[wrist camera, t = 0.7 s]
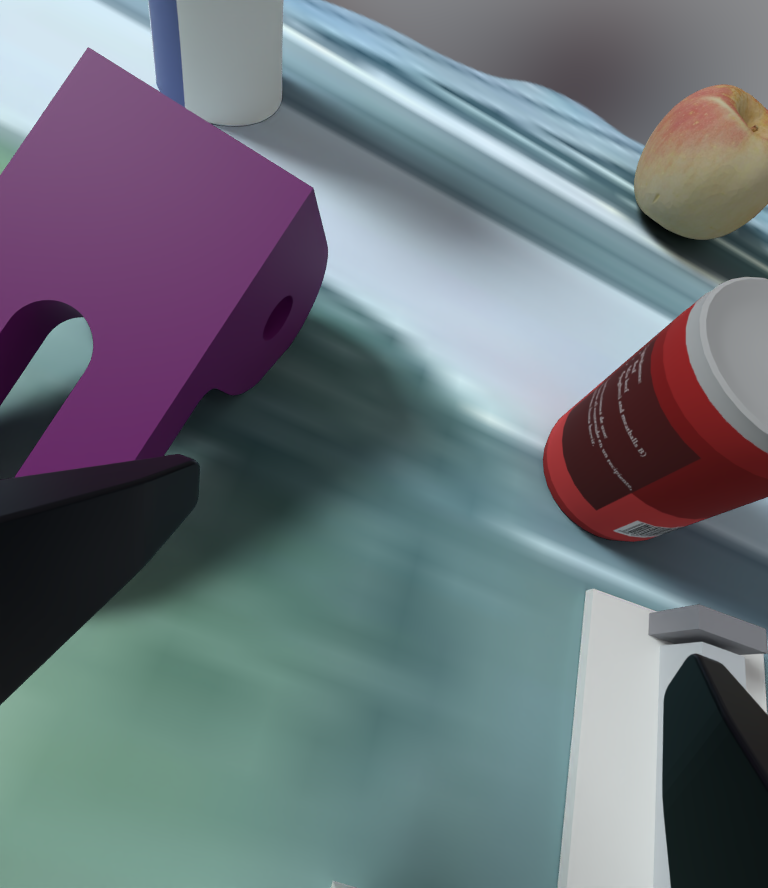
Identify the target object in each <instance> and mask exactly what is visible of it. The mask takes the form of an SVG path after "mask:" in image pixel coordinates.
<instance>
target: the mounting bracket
mask: <svg viewBox="0 0 768 888" xmlns="http://www.w3.org/2000/svg"><path fill="white" fill-rule="evenodd" d="M327 259H328V246H327V241H326V237H325V233H324V229H323V225H322V221H321V217H320V213H319V209H318V205H317V201H316V197H315V193H314V189H313V187H311V186H309V185H308V184H306V183H305V182H303V181H301V180H300V179H298V178H297V177H295V176H293V175H292V174H290V173H289V172H287V171H285V170H284V169H282V168H281V167H279V166H277V165H276V164H274V163H273V162H271V161H269V160H268V159H266V158H265V157H263V156H261V155H260V154H258V153H257V152H255V151H253V150H252V149H250V148H249V147H247V146H245V145H244V144H242V143H241V142H239V141H237V140H236V139H234V138H233V137H231V136H229V135H228V134H226V133H225V132H223V131H221V130H220V129H218V128H217V127H215V126H213V125H212V124H210V123H209V122H207V121H205V120H204V119H202V118H201V117H199V116H197V115H196V114H194V113H193V112H191V111H189V110H188V109H186V108H185V107H183V106H181V105H180V104H178V103H177V102H175V101H173V100H172V99H170V98H169V97H167V96H166V95H164V94H162V93H161V92H159V91H158V90H156V89H154V88H153V87H151V86H150V85H148V84H146V83H145V82H143V81H142V80H140V79H138V78H137V77H135V76H134V75H132V74H130V73H129V72H127V71H126V70H124V69H122V68H121V67H119V66H118V65H116V64H114V63H113V62H111V61H110V60H108V59H106V58H105V57H103V56H102V55H100V54H98V53H97V52H95V51H94V50H92V49H90V48H89V47H88V48H87V50H86V51H85V52H84V54H83V55H82V57H81V58H80V60H79V61H78V63H77V64H76V66H75V67H74V69H73V70H72V71H71V73H70V74H69V76H68V77H67V79H66V80H65V82H64V83H63V85H62V86H61V88H60V89H59V90H58V92H57V93H56V95H55V96H54V98H53V99H52V101H51V102H50V104H49V105H48V106H47V108H46V109H45V111H44V112H43V114H42V115H41V117H40V118H39V120H38V121H37V123H36V124H35V125H34V127H33V128H32V130H31V131H30V133H29V134H28V136H27V137H26V139H25V140H24V142H23V143H22V144H21V146H20V147H19V149H18V150H17V152H16V153H15V155H14V156H13V158H12V159H11V161H10V162H9V163H8V165H7V166H6V168H5V169H4V171H3V172H2V174H1V175H0V405H1V404H2V402H3V401H4V399H5V398H6V396H7V395H8V393H9V392H10V390H11V389H12V388H13V386H14V385H15V383H16V382H17V380H18V379H19V377H20V376H21V374H22V373H23V371H24V370H25V368H26V367H27V365H28V364H29V362H30V361H31V359H32V358H33V356H34V355H35V353H36V352H37V350H38V349H39V347H40V346H41V344H42V343H43V341H44V340H45V338H46V337H47V335H48V334H49V333H50V332H51V331H52V330H53V329H54V328H55V327H56V326H57V325H59V324H60V323H62V322H64V321H66V320H69V319H72V318H77V317H84V318H85V319H86V321H87V323H88V324H89V327H90V329H91V332H92V336H93V353H92V358H91V361H90V363H89V365H88V367H87V369H86V371H85V372H84V374H83V375H82V377H81V378H80V380H79V381H78V383H77V384H76V386H75V387H74V389H73V390H72V392H71V393H70V395H69V396H68V398H67V399H66V401H65V402H64V404H63V405H62V407H61V408H60V410H59V411H58V413H57V414H56V416H55V417H54V419H53V420H52V422H51V423H50V425H49V426H48V428H47V429H46V431H45V432H44V434H43V435H42V437H41V438H40V440H39V441H38V443H37V444H36V446H35V447H34V449H33V450H32V452H31V453H30V455H29V456H28V458H27V459H26V461H25V462H24V464H23V465H22V467H21V468H20V470H19V471H18V473H17V474H16V476H15V477H22V476H29V475H36V474H43V473H50V472H57V471H64V470H71V469H78V468H85V467H92V466H99V465H105V464H112V463H119V462H126V461H133V460H140V459H147V458H154V457H161V456H164V455H165V453H166V452H167V450H168V448H169V447H170V445H171V444H172V442H173V441H174V439H175V438H176V436H177V435H178V433H179V432H180V430H181V429H182V427H183V426H184V424H185V423H186V421H187V419H188V418H189V416H190V415H191V413H192V412H193V410H194V409H195V407H196V406H197V404H198V403H199V401H200V400H201V399H202V397H203V396H204V395H205V394H206V393H207V392H208V391H210V390H211V389H214V388H216V389H218V390H221V391H223V392H225V393H227V394H229V395H239V394H241V393H244V392H246V391H248V390H249V389H251V388H252V387H253V386H255V385H256V384H257V383H258V382H259V381H260V380H261V379H262V377H263V376H264V375H265V374H266V373H267V372H268V370H269V369H270V368H271V367H272V366H273V365H274V364H275V362H276V361H277V360H278V359H279V358H280V357H281V355H282V354H283V353H284V352H285V351H286V350H287V349H288V347H289V346H290V345H291V343H292V342H293V340H294V339H295V337H296V336H297V334H298V332H299V331H300V329H301V327H302V326H303V324H304V322H305V320H306V318H307V316H308V314H309V312H310V310H311V308H312V306H313V304H314V302H315V299H316V297H317V295H318V292H319V289H320V287H321V284H322V281H323V278H324V274H325V270H326V265H327ZM15 477H14V478H15Z"/></svg>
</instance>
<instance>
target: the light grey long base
mask: <svg viewBox="0 0 768 888" xmlns="http://www.w3.org/2000/svg"><path fill="white" fill-rule="evenodd" d="M695 653H697V654H700V655H702V656H705V657H708V658H710V659H713V660H715V661H718V662H720V663H722V664H723V665H724V666H725V667H726V668H727V669H728V670H729V672H730V673H731V674H732V675H733V676H734V677H735V678H736V680H737V681H738V682H739V683H740V684H741V685H742V686H743V687H744V689H745V690H746V691H747V692H748V693H749V694H750V695H751V697H752V698H753V699H754V700H755V701H756V702H757V703H758V704H759V706H760V707H761V708H762V709H763V710H764V711H765V712H766V714H767V705H766V689H765V673H764V657H763V654H766V653H767V639H766V629H765V628H762V627H759V626H757V625H754V624H751V623H748V622H746V621H743V620H740V619H737V618H735V617H732V616H729V615H727V614H724V613H721V612H718V611H716V610H713V609H710V608H707V607H705V606H702V605H699V604H697V605H692V606H686V607H681V608H675V609H669V610H664V611H658V612H657V611H654V610H651V609H648V608H646V607H643V606H640V605H637V604H635V603H632V602H629V601H626V600H624V599H621V598H618V597H615V596H612V595H610V594H607V593H604V592H601V591H599V590H596V589H590V590H587V591H586V596H585V606H584V617H583V627H582V637H581V648H580V658H579V669H578V679H577V689H576V700H575V710H574V721H573V731H572V741H571V752H570V762H569V773H568V783H567V793H566V804H565V814H564V825H563V835H562V845H561V856H560V866H559V877H558V887H557V888H671V885H670V875H669V865H668V854H667V844H666V834H665V824H664V813H663V800H662V758H663V702H664V695H665V691H666V689H667V687H668V685H669V683H670V682H671V680H672V679H673V677H674V676H675V674H676V673H677V672H678V670H679V669H680V667H681V666H682V664H683V663H684V661H685V660H686V658H687V657H688V656H689V655H691V654H695Z"/></svg>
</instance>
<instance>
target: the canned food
mask: <svg viewBox="0 0 768 888" xmlns="http://www.w3.org/2000/svg"><path fill="white" fill-rule="evenodd" d="M543 467H544V474H545V478H546V482H547V485H548V488H549V490H550V492H551V494H552V496H553V498H554V500H555V501H556V503H557V504H558V505H559V507H560V508H561V510H562V511H563V512H564V513H565V514H566V515H567V516H568V517H569V518H570V519H571V520H572V521H573V522H574V523H576V524H577V525H578V526H580V527H581V528H582V529H584V530H586V531H588V532H590V533H592V534H594V535H595V536H598V537H602V538H605V539H608V540H617V541H631V542H634V541H643V540H648V539H651V538H654V537H656V536H659V535H662V534H665V533H668V532H670V531H673V530H676V529H679V528H682V527H685V526H687V525H690V524H693V523H696V522H699V521H701V520H704V519H707V518H710V517H713V516H716V515H718V514H721V513H724V512H727V511H730V510H733V509H735V508H738V507H741V506H744V505H747V504H749V503H752V502H755V501H758V500H761V499H764V498H766V497H768V279H765V278H757V277H742V278H736V279H731V280H728V281H726V282H724V283H722V284H719V285H718V286H717V287H716V288H715V289H713V290H712V291H710V292H708V293H706V294H705V295H704V296H702V297H701V298H700V299H699V300H698V301H697V302H695V303H694V304H693V305H692V306H691V307H690V308H688V309H687V310H685V311H684V312H683V313H682V314H681V315H679V316H678V317H677V318H676V319H675V320H674V321H672V322H671V323H670V324H669V325H668V326H667V327H665V328H664V329H663V330H662V331H661V332H660V333H658V334H657V335H656V336H655V337H654V338H653V339H651V340H650V341H649V342H648V343H647V344H646V345H644V346H643V347H642V348H641V349H640V350H639V351H638V352H636V353H635V354H634V355H633V356H632V357H631V358H629V359H628V360H627V361H626V362H625V363H624V364H622V365H621V366H620V367H619V368H618V369H617V370H615V371H614V372H613V373H612V374H611V375H610V376H608V377H607V378H606V379H605V380H604V381H603V382H602V383H600V384H599V385H598V386H597V387H596V388H595V389H593V390H592V391H591V392H590V393H589V394H588V395H586V396H585V397H584V398H583V399H582V400H581V401H579V402H578V403H577V404H576V405H575V406H574V407H572V408H571V409H570V410H569V411H568V412H567V413H566V414H564V415H563V416H562V417H561V418H560V419H559V420H558V421H557V423H556V424H555V426H554V427H553V429H552V431H551V433H550V435H549V437H548V440H547V443H546V445H545V448H544V456H543Z"/></svg>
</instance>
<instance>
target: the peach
mask: <svg viewBox="0 0 768 888" xmlns="http://www.w3.org/2000/svg"><path fill="white" fill-rule="evenodd" d="M634 192H635V197H636V201H637V203H638V205H639V207H640V209H641V210H642V211H643V212H644V213H645V214H646V215H648V216H649V217H650V218H651V219H653V220H654V221H655V222H657V223H658V224H660V225H661V226H663V227H664V228H665V229H667V230H669V231H671V232H673V233H676V234H678V235H681V236H684V237H687V238H691V239H697V240H708V239H714V238H718V237H721V236H724V235H727V234H729V233H731V232H733V231H735V230H736V229H738V228H740V227H741V226H743V225H744V224H746V223H747V222H749V221H750V220H751V219H752V218H754V217H755V216H756V215H757V214H758V213H759V212H760V211H761V210H762V209H763V208H764V207H765V206H766V205H767V204H768V110H767V109H766V108H765V107H763V105H762V104H761V103H759V102H758V101H757V100H756V99H755V98H754V97H753V96H751V95H750V94H748V93H746V92H744V91H743V90H742V89H740V88H737V87H735V86H731V85H715V86H711V87H707V88H704V89H702V90H699V91H697V92H695V93H693V94H691V95H690V96H688V97H687V98H685V99H684V100H682V101H681V102H680V103H678V104H677V105H676V106H675V107H674V108H673V109H672V110H670V112H669V113H668V114H667V115H666V116H665V117H664V118H663V120H662V121H661V122H660V123H659V124H658V126H657V127H656V129H655V130H654V132H653V133H652V135H651V136H650V138H649V140H648V142H647V144H646V146H645V148H644V150H643V152H642V155H641V157H640V160H639V162H638V166H637V169H636V173H635V179H634Z"/></svg>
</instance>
